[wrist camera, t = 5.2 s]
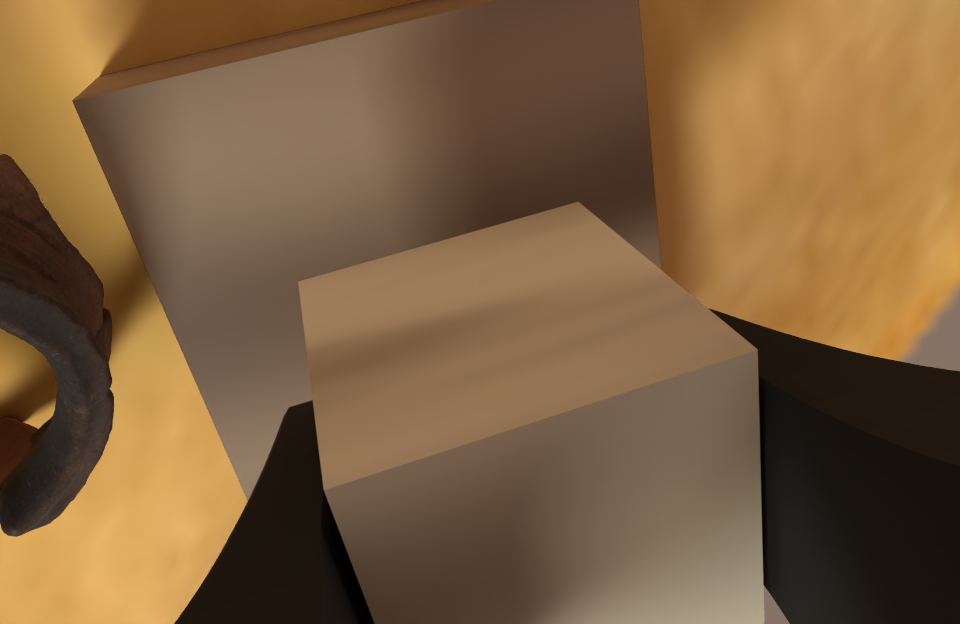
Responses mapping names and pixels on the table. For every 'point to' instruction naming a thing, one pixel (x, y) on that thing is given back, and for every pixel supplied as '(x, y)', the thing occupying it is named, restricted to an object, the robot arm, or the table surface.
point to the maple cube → (536, 432)
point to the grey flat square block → (359, 167)
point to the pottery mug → (50, 358)
